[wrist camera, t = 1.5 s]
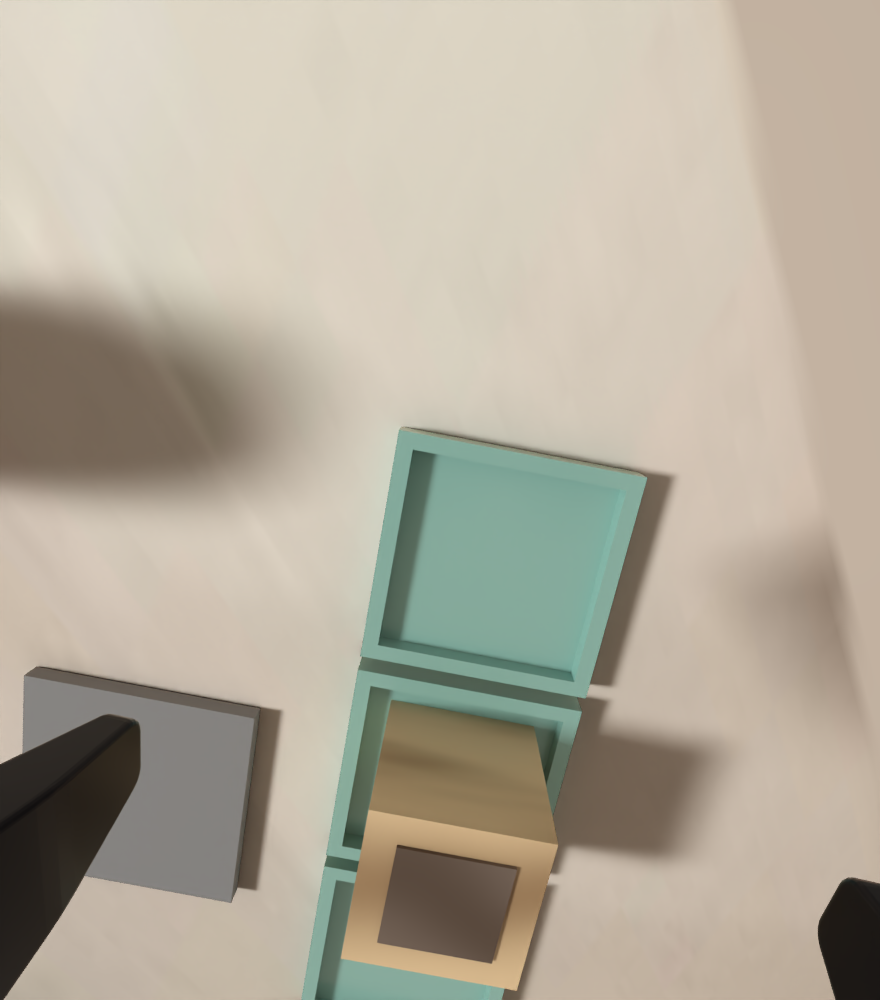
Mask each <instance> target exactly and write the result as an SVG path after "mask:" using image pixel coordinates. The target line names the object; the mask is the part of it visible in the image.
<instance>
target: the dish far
mask: <svg viewBox="0 0 880 1000" xmlns="http://www.w3.org/2000/svg"><path fill="white" fill-rule="evenodd" d="M358 864H359V861H355V860H350V859H345V858H339V857H334V856H328V855H327V858H326V862H325V866H324V871H323V877H322V883H321V888H320V894H319V900H318V906H317V912H316V918H315V923H314V929H313V935H312V941H311V947H310V953H309V958H308V964H307V970H306V976H305V982H304V988H303V993H302V999H301V1000H502V996H503V993H504V989H505V988H499V987H494V986H488V985H483V984H477V983H472V982H466V981H461V980H455V979H450V978H444V977H439V976H433V975H428V974H422V973H417V972H411V971H406V970H401V969H395V968H390V967H384V966H379V965H373V964H368V963H362V962H357V961H351V960H346V959H341V954H342V949H343V944H344V938H345V933H346V928H347V922H348V917H349V912H350V906H351V901H352V896H353V890H354V885H355V880H356V875H357V869H358Z"/></svg>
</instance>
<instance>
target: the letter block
mask: <svg viewBox="0 0 880 1000" xmlns="http://www.w3.org/2000/svg"><path fill="white" fill-rule="evenodd" d="M557 848H558V841H557V836H556V831H555V826H554V822H553V817H552V812H551V807H550V802H549V797H548V792H547V787H546V782H545V778H544V773H543V768H542V763H541V758H540V753H539V748H538V743H537V739H536V734H535V729H534V726H529V725H524V724H519V723H513V722H508V721H503V720H497V719H492V718H487V717H481V716H476V715H471V714H465V713H460V712H455V711H449V710H444V709H439V708H433V707H428V706H423V705H417V704H412V703H407V702H401V701H396V700H391V703H390V708H389V713H388V718H387V723H386V728H385V733H384V738H383V742H382V747H381V752H380V757H379V762H378V767H377V772H376V777H375V782H374V786H373V791H372V796H371V801H370V806H369V811H368V816H367V821H366V827H365V832H364V837H363V843H362V848H361V853H360V859H359V864H358V869H357V875H356V880H355V885H354V890H353V896H352V901H351V906H350V912H349V917H348V922H347V928H346V933H345V938H344V944H343V949H342V954H341V959H346V960H351V961H357V962H362V963H368V964H373V965H379V966H384V967H390V968H395V969H401V970H406V971H411V972H417V973H422V974H428V975H433V976H439V977H444V978H450V979H455V980H461V981H466V982H472V983H477V984H483V985H488V986H494V987H499V988H505V989H510V990H515V991H517V988H518V984H519V981H520V977H521V974H522V970H523V967H524V963H525V960H526V956H527V953H528V949H529V946H530V942H531V939H532V935H533V932H534V928H535V925H536V921H537V918H538V914H539V911H540V907H541V904H542V900H543V897H544V893H545V890H546V886H547V883H548V879H549V876H550V872H551V869H552V865H553V862H554V858H555V855H556V851H557Z"/></svg>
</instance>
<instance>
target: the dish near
mask: <svg viewBox="0 0 880 1000" xmlns="http://www.w3.org/2000/svg"><path fill="white" fill-rule="evenodd" d="M646 481H647V477H645V476H644V475H642V474H640V473H639V472H635V471H630V470H624V469H619V468H614V467H609V466H604V465H599V464H593V463H588V462H583V461H578V460H573V459H567V458H562V457H557V456H552V455H547V454H541V453H536V452H531V451H526V450H521V449H515V448H510V447H505V446H500V445H495V444H490V443H484V442H479V441H474V440H469V439H464V438H458V437H453V436H448V435H443V434H438V433H432V432H427V431H422V430H417V429H412V428H406V427H401V428H400V429H399V433H398V439H397V445H396V451H395V457H394V463H393V468H392V474H391V480H390V486H389V492H388V498H387V503H386V509H385V515H384V521H383V527H382V533H381V538H380V544H379V550H378V556H377V562H376V568H375V573H374V579H373V585H372V591H371V597H370V603H369V608H368V614H367V620H366V626H365V632H364V638H363V643H362V649H361V655H360V656H362V657H368V658H373V659H378V660H384V661H389V662H394V663H400V664H405V665H410V666H415V667H421V668H426V669H431V670H437V671H442V672H447V673H453V674H458V675H463V676H469V677H474V678H479V679H484V680H490V681H495V682H500V683H506V684H511V685H516V686H522V687H527V688H532V689H538V690H543V691H548V692H554V693H559V694H564V695H569V696H575V697H580V698H585V699H586V696H587V692H588V688H589V685H590V681H591V678H592V674H593V671H594V667H595V663H596V660H597V656H598V653H599V649H600V646H601V642H602V638H603V635H604V631H605V628H606V624H607V621H608V617H609V613H610V610H611V606H612V603H613V599H614V595H615V592H616V588H617V585H618V581H619V578H620V574H621V570H622V567H623V563H624V560H625V556H626V553H627V549H628V545H629V542H630V538H631V535H632V531H633V527H634V524H635V520H636V517H637V513H638V510H639V506H640V502H641V499H642V495H643V492H644V488H645V485H646Z"/></svg>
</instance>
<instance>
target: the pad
mask: <svg viewBox="0 0 880 1000" xmlns="http://www.w3.org/2000/svg"><path fill="white" fill-rule="evenodd" d="M105 714H115V715H120V716H124V717H129V718H133V719H135V720H137V721H138V722H139V724H140V729H141V770H140V775H139V778H138V781H137V784H136V786H135V788H134V790H133V792H132V793H131V795H130V797H129V799H128V800H127V802H126V804H125V806H124V807H123V809H122V811H121V813H120V814H119V816H118V818H117V820H116V822H115V823H114V825H113V827H112V829H111V830H110V832H109V834H108V836H107V837H106V839H105V841H104V843H103V844H102V846H101V848H100V850H99V851H98V853H97V855H96V857H95V858H94V860H93V862H92V864H91V865H90V867H89V869H88V871H87V872H86V874H85V876H88V877H93V878H98V879H104V880H109V881H115V882H120V883H126V884H131V885H137V886H142V887H147V888H153V889H158V890H164V891H169V892H175V893H180V894H186V895H191V896H197V897H202V898H207V899H213V900H218V901H224V902H229V903H231V902H232V899H233V897H234V895H235V892H236V890H237V885H238V877H239V869H240V862H241V854H242V846H243V838H244V831H245V823H246V815H247V807H248V800H249V792H250V784H251V776H252V769H253V761H254V753H255V745H256V738H257V730H258V722H259V714H260V708H256V707H250V706H245V705H239V704H234V703H229V702H223V701H218V700H213V699H207V698H202V697H197V696H191V695H186V694H181V693H175V692H170V691H165V690H159V689H154V688H149V687H143V686H138V685H133V684H127V683H122V682H116V681H111V680H106V679H100V678H95V677H90V676H84V675H79V674H74V673H68V672H63V671H58V670H52V669H47V668H42V667H35V668H34V669H33V670H31V671H30V672H28V673H27V674H26V675H24V703H23V753H25V752H27V751H29V750H31V749H33V748H35V747H37V746H39V745H41V744H43V743H45V742H47V741H49V740H52V739H54V738H56V737H58V736H60V735H62V734H64V733H66V732H68V731H70V730H72V729H74V728H76V727H79V726H81V725H83V724H85V723H87V722H89V721H91V720H93V719H95V718H97V717H99V716H102V715H105Z"/></svg>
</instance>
